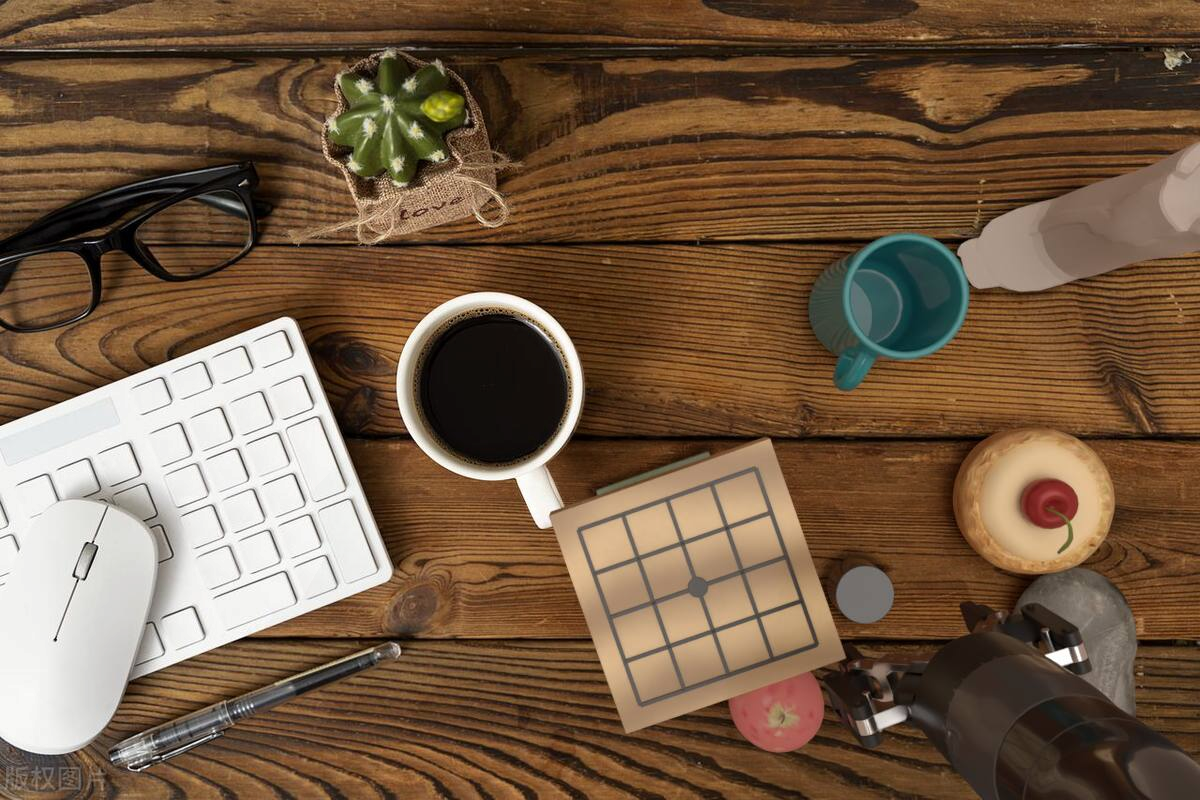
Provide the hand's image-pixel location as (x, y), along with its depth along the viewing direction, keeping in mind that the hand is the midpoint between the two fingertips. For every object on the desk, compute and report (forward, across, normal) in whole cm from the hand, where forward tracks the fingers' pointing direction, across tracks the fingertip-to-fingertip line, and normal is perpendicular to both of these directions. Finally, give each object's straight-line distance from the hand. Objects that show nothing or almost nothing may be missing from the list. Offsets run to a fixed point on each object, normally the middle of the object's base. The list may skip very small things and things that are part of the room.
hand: (908, 636), depth 58 cm
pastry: (+14, +15, +3) cm, 21 cm away
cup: (+14, +8, +21) cm, 26 cm away
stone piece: (+14, 0, 0) cm, 14 cm away
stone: (+15, +15, -11) cm, 24 cm away
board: (+14, -12, +10) cm, 21 cm away
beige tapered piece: (+14, +24, +22) cm, 36 cm away
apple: (+15, -9, -6) cm, 18 cm away
